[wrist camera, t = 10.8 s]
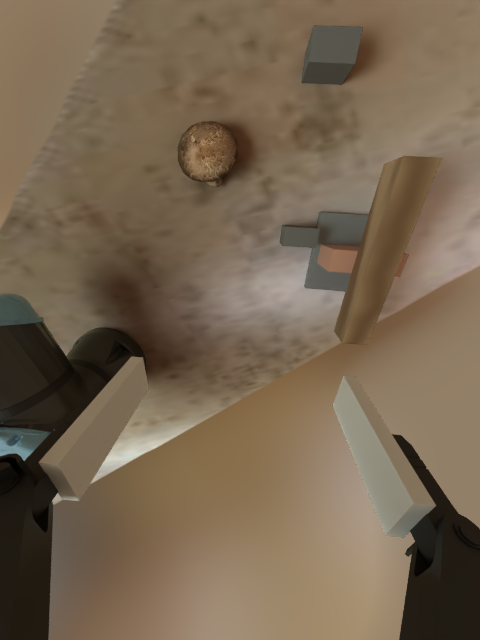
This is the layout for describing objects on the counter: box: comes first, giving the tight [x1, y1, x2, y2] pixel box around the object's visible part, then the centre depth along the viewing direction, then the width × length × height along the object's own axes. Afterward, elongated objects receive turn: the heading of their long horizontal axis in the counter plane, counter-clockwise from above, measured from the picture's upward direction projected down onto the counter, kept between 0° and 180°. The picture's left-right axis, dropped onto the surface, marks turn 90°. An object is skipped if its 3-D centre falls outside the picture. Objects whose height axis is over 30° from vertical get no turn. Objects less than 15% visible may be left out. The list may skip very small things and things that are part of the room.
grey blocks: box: [280, 25, 363, 248], centre depth 28 cm, size 5×22×4 cm, turn 177°
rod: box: [334, 156, 442, 345], centre depth 27 cm, size 4×22×4 cm, turn 177°
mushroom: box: [178, 122, 238, 187], centre depth 28 cm, size 8×8×6 cm
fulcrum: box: [304, 212, 409, 291], centre depth 32 cm, size 12×12×7 cm
